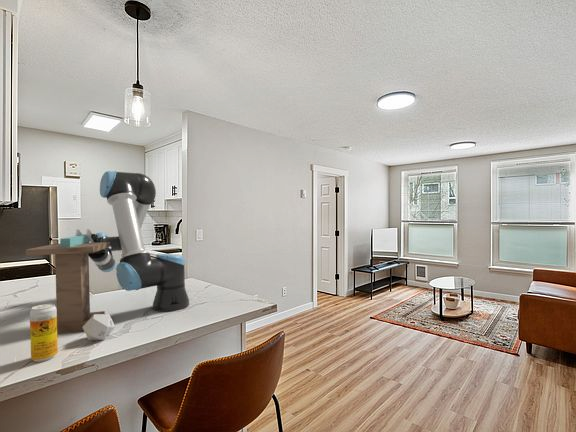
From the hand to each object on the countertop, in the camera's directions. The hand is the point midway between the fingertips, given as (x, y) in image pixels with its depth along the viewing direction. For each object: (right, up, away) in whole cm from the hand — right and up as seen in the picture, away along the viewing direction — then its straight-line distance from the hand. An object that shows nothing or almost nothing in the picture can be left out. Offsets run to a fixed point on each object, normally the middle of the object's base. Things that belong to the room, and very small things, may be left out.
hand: (82, 232), depth 125 cm
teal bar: (+1, -4, -3) cm, 5 cm away
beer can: (+13, -35, -36) cm, 51 cm away
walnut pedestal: (+3, -34, -9) cm, 36 cm away
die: (+21, -34, -22) cm, 46 cm away
